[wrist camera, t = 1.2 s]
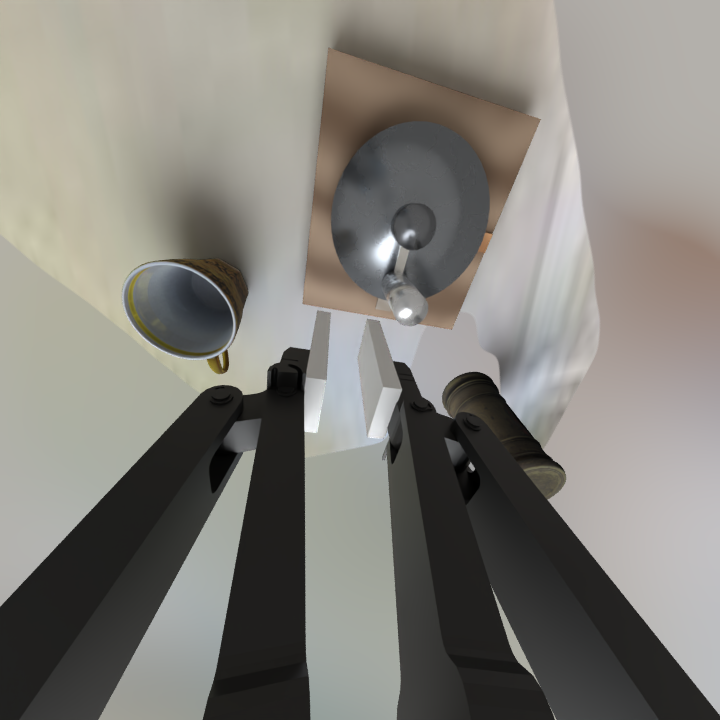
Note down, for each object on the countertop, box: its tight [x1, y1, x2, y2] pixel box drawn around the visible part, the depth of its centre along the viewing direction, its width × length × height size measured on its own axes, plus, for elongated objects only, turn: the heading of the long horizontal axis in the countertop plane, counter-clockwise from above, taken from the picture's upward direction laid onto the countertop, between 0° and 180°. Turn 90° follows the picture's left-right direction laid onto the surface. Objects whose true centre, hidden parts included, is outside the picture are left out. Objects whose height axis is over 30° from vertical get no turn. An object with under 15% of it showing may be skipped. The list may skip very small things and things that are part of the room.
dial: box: [331, 121, 490, 326], centre depth 24 cm, size 16×16×10 cm
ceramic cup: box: [122, 258, 248, 374], centre depth 30 cm, size 13×10×10 cm
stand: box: [303, 48, 541, 330], centre depth 30 cm, size 22×20×3 cm
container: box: [442, 372, 566, 499], centre depth 38 cm, size 9×9×18 cm
